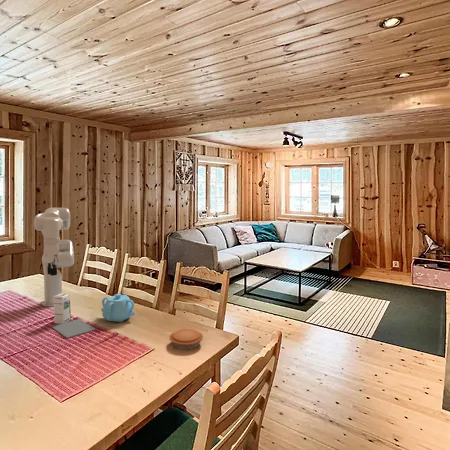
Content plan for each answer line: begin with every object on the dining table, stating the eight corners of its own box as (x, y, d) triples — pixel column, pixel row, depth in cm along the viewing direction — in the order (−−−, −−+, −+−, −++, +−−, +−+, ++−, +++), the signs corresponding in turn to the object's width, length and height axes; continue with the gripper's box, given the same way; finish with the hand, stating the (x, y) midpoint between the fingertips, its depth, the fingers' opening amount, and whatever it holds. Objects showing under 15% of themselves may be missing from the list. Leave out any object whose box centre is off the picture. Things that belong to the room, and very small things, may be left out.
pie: (209, 346, 153) (209, 336, 153) (179, 355, 144) (179, 344, 144) (192, 334, 166) (192, 324, 165) (163, 341, 157) (163, 331, 156)
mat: (51, 327, 168) (51, 326, 168) (79, 320, 178) (79, 319, 178) (67, 338, 156) (67, 337, 156) (95, 330, 167) (95, 328, 167)
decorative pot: (136, 321, 179) (136, 297, 178) (104, 326, 172) (104, 300, 170) (130, 311, 193) (130, 288, 192) (100, 315, 186) (100, 291, 185)
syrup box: (63, 324, 173) (63, 297, 171) (53, 323, 174) (53, 296, 172) (70, 320, 178) (70, 293, 177) (61, 319, 179) (60, 292, 178)
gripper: (38, 240, 182) (39, 273, 184) (50, 243, 172) (51, 278, 173) (52, 238, 188) (53, 270, 190) (65, 242, 177) (65, 276, 179)
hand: (52, 274), depth 181 cm, fingers open, 3 cm apart
